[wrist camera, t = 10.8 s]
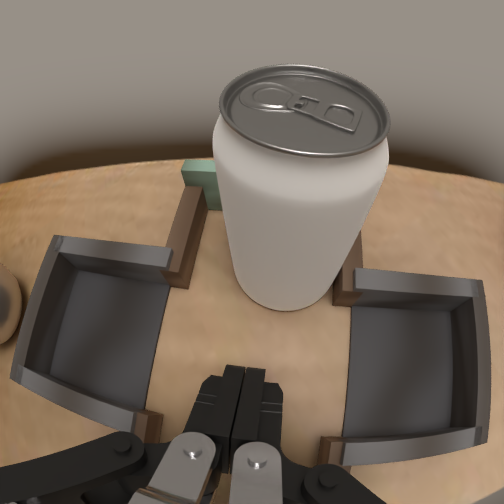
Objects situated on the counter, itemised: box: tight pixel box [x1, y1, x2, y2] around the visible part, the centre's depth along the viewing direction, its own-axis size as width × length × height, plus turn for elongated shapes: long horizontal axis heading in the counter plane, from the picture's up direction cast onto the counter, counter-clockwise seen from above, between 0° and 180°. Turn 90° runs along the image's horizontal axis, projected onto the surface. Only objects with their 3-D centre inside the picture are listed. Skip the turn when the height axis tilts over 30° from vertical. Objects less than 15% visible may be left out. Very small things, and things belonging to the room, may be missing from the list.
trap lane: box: [10, 160, 491, 474], centre depth 14 cm, size 29×22×4 cm
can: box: [213, 64, 390, 311], centre depth 14 cm, size 6×6×12 cm
